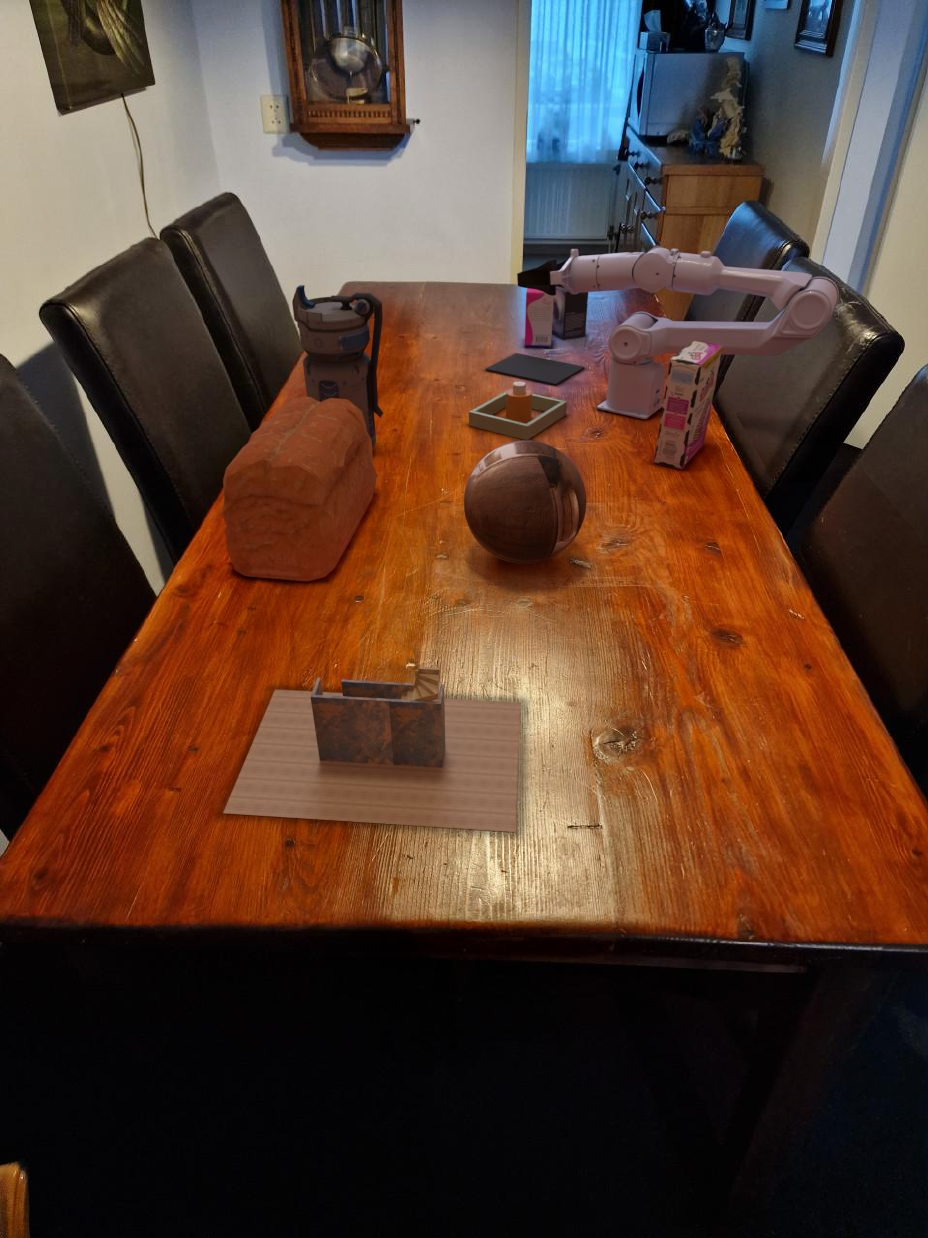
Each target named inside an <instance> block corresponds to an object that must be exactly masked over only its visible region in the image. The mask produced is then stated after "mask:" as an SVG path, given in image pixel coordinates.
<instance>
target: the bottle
mask: <svg viewBox="0 0 928 1238" xmlns="http://www.w3.org/2000/svg"><path fill="white" fill-rule="evenodd" d="M506 391H507V392H506ZM506 391H505V392H506V407H505V419H508V420H512V421H517V422H521V423H525V424H527V423H528V422H530V421H532V409H531V407H532V394H533V392H532V390H530V389H528V388H527V383H526V382H525V381H515V382H512V388H509V389H508V390H506Z"/></svg>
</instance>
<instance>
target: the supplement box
mask: <svg viewBox="0 0 928 1238" xmlns="http://www.w3.org/2000/svg"><path fill="white" fill-rule="evenodd" d="M553 298H554V296H551V295H548V294H546V293H545V292H542V291H540V290H536V289H530V288H526V292H525V319H524V321H525V322H524V348H527V349H529V348H530V349H531V348H532V349H551V348H552V338H553V337H552V335H553V334H552V319H553Z"/></svg>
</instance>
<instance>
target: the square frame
mask: <svg viewBox="0 0 928 1238" xmlns="http://www.w3.org/2000/svg"><path fill="white" fill-rule="evenodd" d="M507 391H508V390H505V391H504V392H502V393H500V394H499V395H497V396H495V397H493V398H492V399H491V398H490V400H487V401H485V402H484V403H482V404H480V405H479V406H477V407H475V408H473V409H472V410H469V411H468V426H469V427H473V428H476V429H480V430H485V431H489V432H492V433H496V434H501V435H504V436H507V437H512V438H516V439H519V440H522V441H530V439H532V438H533V437H535V436H537V435H538V434H539V433H541V432H542V431H544V430H545V429H547V428H548V427H550V426H551V425H553V424H554V423H556V422H558V421H559V420H561V419H562V418H564V417H565V416H567V407H568V401H566V400H564V399H563V400H562V399H557V398H553V397H549V396H545V395H540V394H535V393H532V407H531V410H536V411H540V412H543V413H541V414H539V415H538V416H537V417H535V418H533V419H531V421H530V422H528V423H527V424H525V423H521V422H517V421H512V420H508V419H506V418H505V417H500V416H496V415H495V414H497V413H498V412H500V411H502V410H503V409H506V392H507Z"/></svg>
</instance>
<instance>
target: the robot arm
mask: <svg viewBox="0 0 928 1238" xmlns="http://www.w3.org/2000/svg"><path fill="white" fill-rule="evenodd" d="M711 254H712V252H711V251H709V250H702V251H701V252H700V254H695V253H689V252H680V251H679V248H674V247H673V248H671V250H669V249H668V248H665V247H662V246H661V245H657V246H654V247H652V248H650V249H649V250H648V251H647V252H645V251H641V252H640V251H634V252H628V251H627V252H614V253H613V252H612V253H602V254H589V255H580V254H579V249H578V248H571V249H570V256H569V257H568V258H567V259H565V260H563V261H561V262H559V263H558V259H557V258H552V259H551V258H550V259H548V260H547V261H546V262H544V263H543V264H541V265H539V266H537V267H534V268H529V269H526V270H522V271H519V272H518V273H516V276H517V279H516V280H517V287H519V288H523V289H527V288H530V289H536V290H540V291H542V292H545V293H546V294H548V295H551V296H554V295H556V286H558V287H562V288H565V289H566V290H568V291H569V292H570V293H571V294H578V293H582V292H588V293H596V292H599V293H600V292H611V291H612V292H613V291H627V290H630V289H640V290H642V291H645V292H648V293H650V294H653V293H657V292H659V291H661V290H662V289H663V288H664V289H667V290H669V291H671V292H677V293H678V292H679V293H686V294H687V293H688V294H695V295H701V296H711V295H712V294H713V293H714V292H716V291H717V290H720V289H721V290H726V291H731V292H732V291H733V292H737V293H743V294H747V295H753V296H760V297H765V298H768V299H769V300H770V302H771V303H772V304H773V306H775V307H776V309H777V310H778V311H779V314H778V315H776V317H774V318H773V319H772V320H771V321H692V320H691V321H687V320H685V321H684V320H683V321H681V320H680V321H679V320H678V321H677V320H676V321H675V320H671V319H669V318H667V317H660V316H659V317H658V316H655V315H653V314H651V313H649V312H646V311H637V312H634V313H631V315H629V316H628V317H627V319H626V320H625V321H624V322H623V323H621V324H619V325H617V326H616V327H615V328H613V330H612V331H611V333H610V335H609V337H608V350H609V352H610V358H609V359H610V360H609V369H608V378H607V379H608V381H607V388H606V389H607V390H606V399H605V400H604V401H602V402H601V403H599V404H598V405H597V406H596V409H597V410H600V411H605V412H609V413H615V414H619V415H622V416H627V417H632V418H637V419H640V420H647V419H649V418H650V417H651V416H652V415H653V414H655V413H656V412H657V411H658V410H660V409H661V408H663V399H664V392H665V385H666V384H665V383H666V378H667V377H666V376H667V369H666V368H667V367H666V365H665V364H664V363H663V362H659V361H656V360H655V359H654V357H657V356H661V355H664V354H678V353H679V352H680V351H682V350H683V349H684V348H686V347H687V346H688V345H689V344H691V343H692V342H693V341H697V342H705V343H711V344H716V345H721V346H723V349H722V354H721V355H729V356H730V355H731V356H764V357H765V356H766V357H768V356H770V357H774V356H780V355H782V354H784V353H786V352H788V351H789V350H791V349H793V348H795V347H797V346H798V345H800V344H802V343H804V342H806V341H807V340H812V339H814V338H815V337H816V336H817V335H818V334H819V333H820V331H822V330H823V328H824V327H825V326H826V325H827V324H828V323H829V321H830V320H831V318H832V315H833V311H834V310H835V309H836V307H837V305H838V303H839V299H840V291H839V288H838V285H837V284H836V282H834V280H832V279H830V278H829V277H826V276H814V277H813V275H812V274H810V273H807V272H801V271H800V272H799V271H788V270H774V269H763V268H749V267H737V266H725V265H724V263H723V262H722V261H721V259H720V258H719V257H718V256H713V255H711Z"/></svg>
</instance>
